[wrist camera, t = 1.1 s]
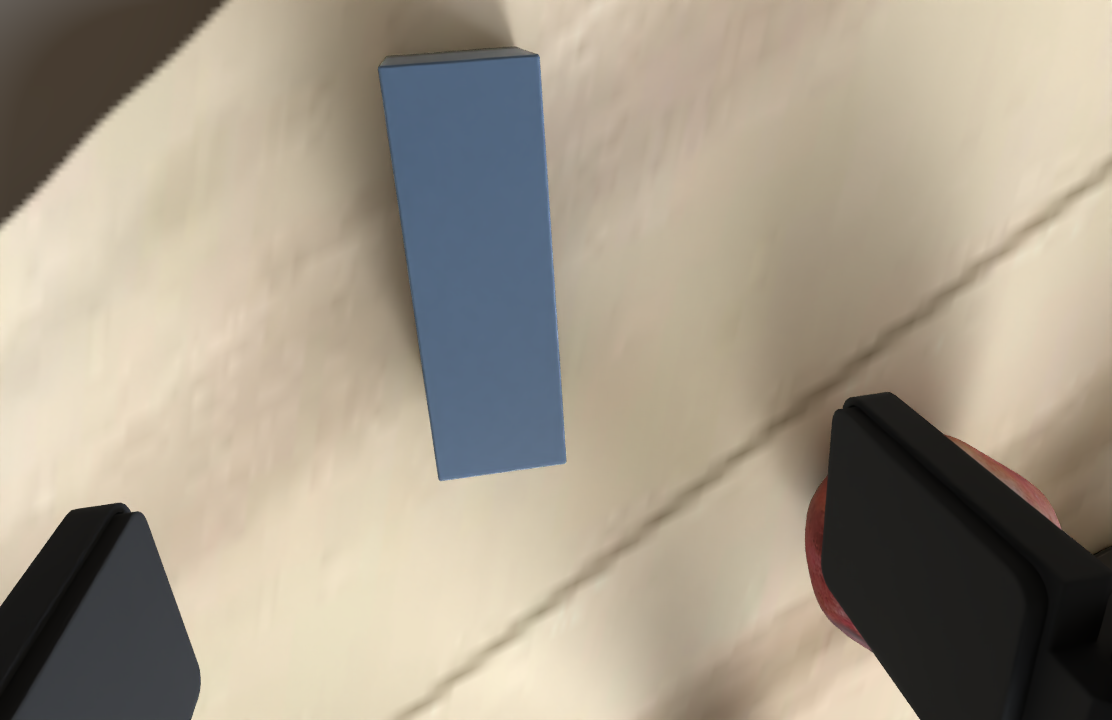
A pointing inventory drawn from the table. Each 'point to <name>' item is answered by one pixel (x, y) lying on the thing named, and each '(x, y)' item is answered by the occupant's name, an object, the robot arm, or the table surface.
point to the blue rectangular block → (478, 254)
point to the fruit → (817, 525)
